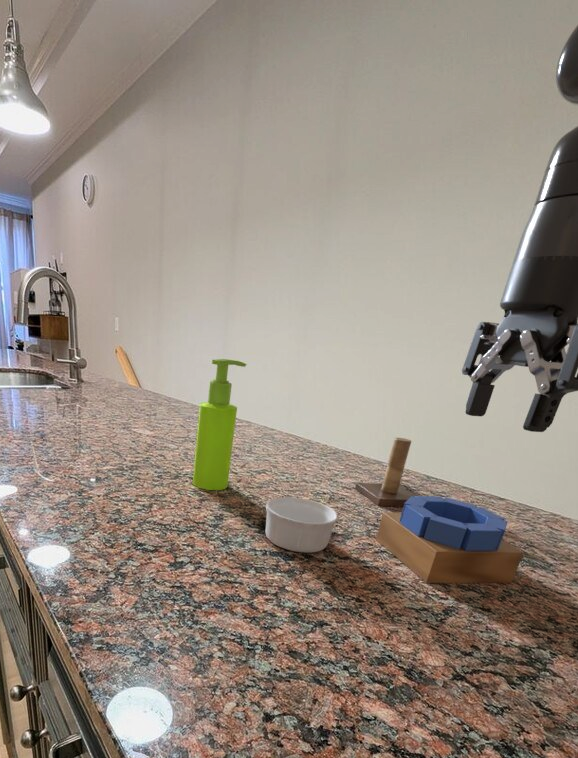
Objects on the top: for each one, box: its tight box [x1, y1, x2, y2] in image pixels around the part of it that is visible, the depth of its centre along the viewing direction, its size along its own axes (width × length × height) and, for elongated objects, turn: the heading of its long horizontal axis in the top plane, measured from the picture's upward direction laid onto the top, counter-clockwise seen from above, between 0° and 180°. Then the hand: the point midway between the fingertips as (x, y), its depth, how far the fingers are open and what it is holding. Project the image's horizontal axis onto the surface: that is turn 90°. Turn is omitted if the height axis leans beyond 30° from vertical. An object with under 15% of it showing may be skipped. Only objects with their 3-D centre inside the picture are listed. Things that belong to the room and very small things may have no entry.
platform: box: [375, 511, 525, 584], centre depth 55 cm, size 11×11×4 cm
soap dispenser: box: [192, 358, 247, 491], centre depth 72 cm, size 6×7×20 cm
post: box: [354, 437, 417, 507], centre depth 75 cm, size 8×8×10 cm
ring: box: [400, 495, 508, 551], centre depth 54 cm, size 11×11×2 cm
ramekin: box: [264, 496, 339, 554], centre depth 57 cm, size 9×9×4 cm
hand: (501, 422), depth 50 cm, fingers open, 8 cm apart
